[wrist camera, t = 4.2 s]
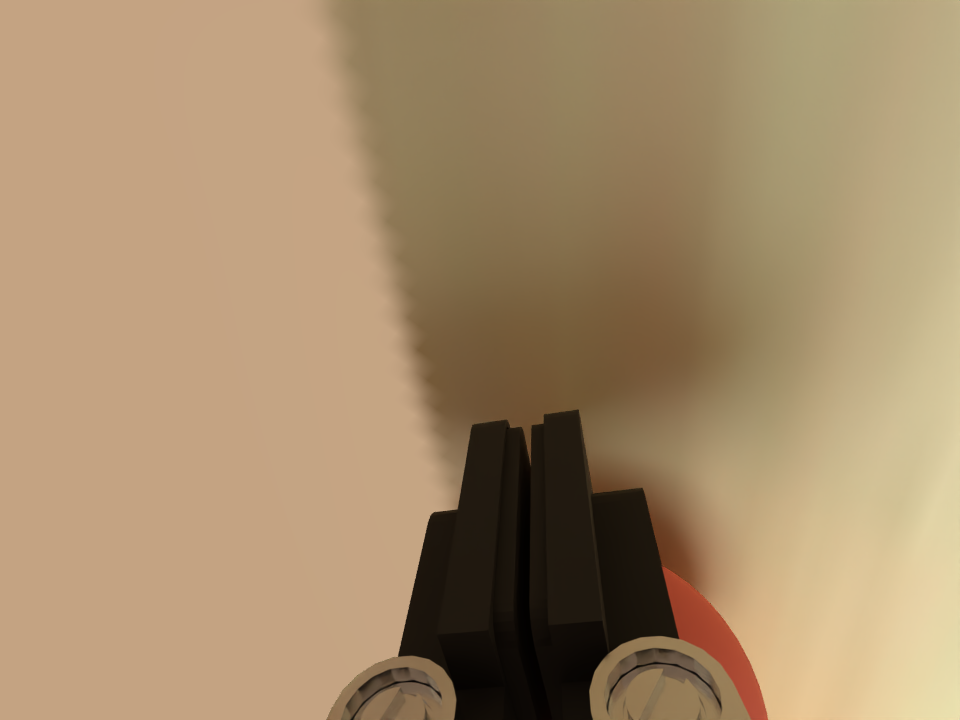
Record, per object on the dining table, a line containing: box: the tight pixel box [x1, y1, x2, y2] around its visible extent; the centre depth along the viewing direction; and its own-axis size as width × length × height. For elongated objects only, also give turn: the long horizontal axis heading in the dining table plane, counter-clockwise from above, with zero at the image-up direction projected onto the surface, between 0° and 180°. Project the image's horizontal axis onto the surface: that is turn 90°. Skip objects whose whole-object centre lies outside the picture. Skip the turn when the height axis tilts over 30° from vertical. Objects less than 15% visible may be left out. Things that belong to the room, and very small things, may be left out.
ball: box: [662, 566, 768, 720], centre depth 11 cm, size 6×6×6 cm
